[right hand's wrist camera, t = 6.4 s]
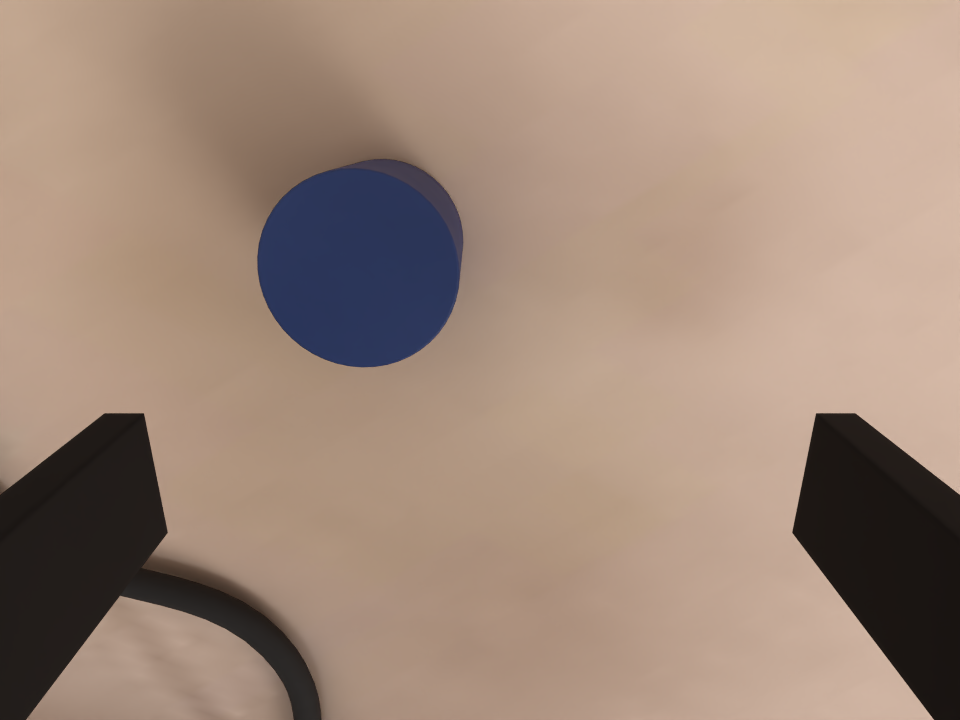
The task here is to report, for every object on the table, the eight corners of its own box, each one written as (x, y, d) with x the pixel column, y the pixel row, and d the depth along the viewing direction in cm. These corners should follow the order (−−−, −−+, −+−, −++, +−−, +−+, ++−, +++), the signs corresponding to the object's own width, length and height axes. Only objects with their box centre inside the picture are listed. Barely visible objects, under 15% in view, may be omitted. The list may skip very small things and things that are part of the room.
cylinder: (275, 236, 19) (214, 269, 14) (383, 123, 18) (353, 121, 13) (387, 343, 20) (362, 404, 16) (495, 243, 19) (501, 277, 15)
